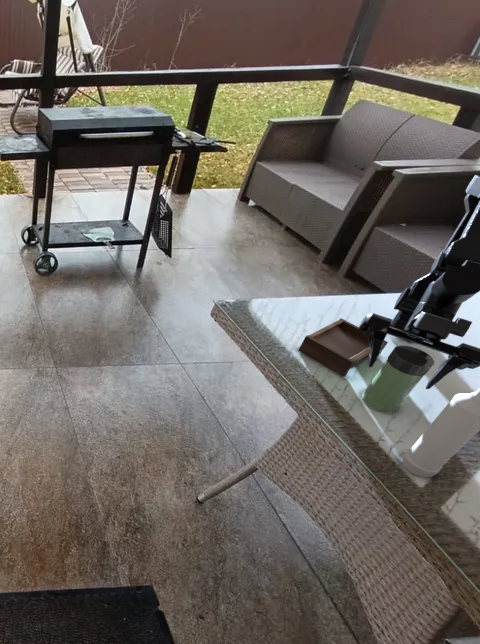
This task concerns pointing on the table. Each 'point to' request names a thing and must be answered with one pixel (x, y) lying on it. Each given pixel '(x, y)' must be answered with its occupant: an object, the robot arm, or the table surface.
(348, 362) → the wooden tray
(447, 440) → the bottle
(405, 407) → the table surface
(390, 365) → the spice jar
